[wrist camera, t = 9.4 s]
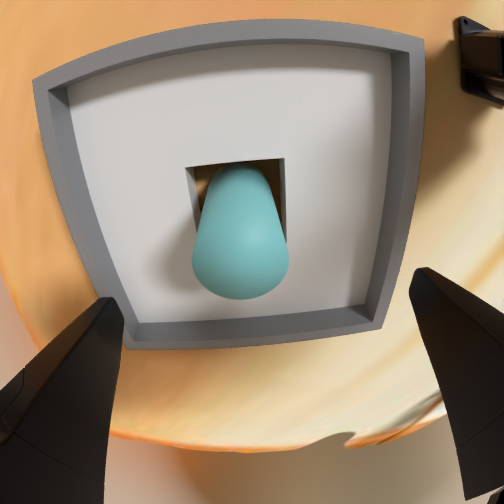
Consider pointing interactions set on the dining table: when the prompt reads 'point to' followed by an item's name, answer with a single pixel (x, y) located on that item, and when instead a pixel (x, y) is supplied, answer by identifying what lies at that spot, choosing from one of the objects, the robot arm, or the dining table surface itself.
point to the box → (232, 150)
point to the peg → (239, 235)
